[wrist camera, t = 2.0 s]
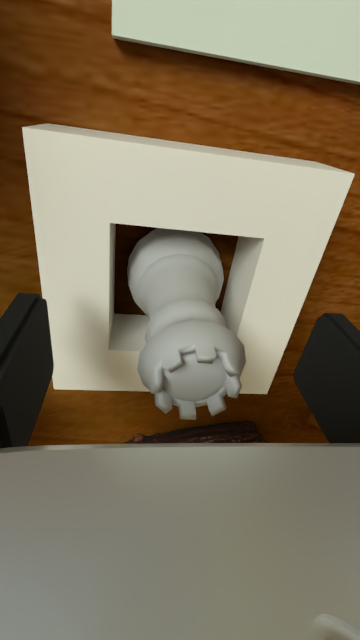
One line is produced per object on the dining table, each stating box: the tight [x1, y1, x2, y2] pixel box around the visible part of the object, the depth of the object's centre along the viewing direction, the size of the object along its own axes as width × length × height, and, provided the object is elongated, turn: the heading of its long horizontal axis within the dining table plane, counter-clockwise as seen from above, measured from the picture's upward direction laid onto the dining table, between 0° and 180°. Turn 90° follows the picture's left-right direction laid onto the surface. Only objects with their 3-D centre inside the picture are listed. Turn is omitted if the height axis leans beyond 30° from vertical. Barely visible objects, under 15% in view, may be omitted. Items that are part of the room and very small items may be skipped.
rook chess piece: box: [127, 228, 246, 420], centre depth 12 cm, size 4×4×8 cm
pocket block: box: [22, 123, 355, 394], centre depth 14 cm, size 11×11×3 cm
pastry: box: [123, 421, 266, 444], centre depth 23 cm, size 11×12×6 cm
